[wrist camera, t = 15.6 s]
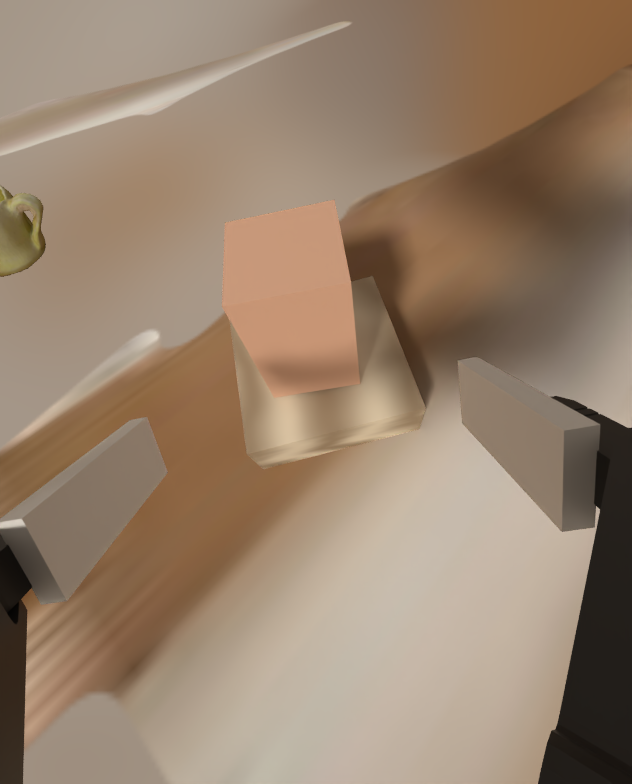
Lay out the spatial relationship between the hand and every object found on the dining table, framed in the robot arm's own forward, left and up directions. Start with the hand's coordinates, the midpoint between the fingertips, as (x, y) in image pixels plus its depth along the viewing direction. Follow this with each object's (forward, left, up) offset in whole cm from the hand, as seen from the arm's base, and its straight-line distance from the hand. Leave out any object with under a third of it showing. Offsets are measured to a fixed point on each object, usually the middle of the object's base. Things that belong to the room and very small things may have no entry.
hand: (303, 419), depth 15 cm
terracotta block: (-4, -10, -12) cm, 16 cm away
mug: (+22, -50, -17) cm, 57 cm away
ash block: (-4, -10, -17) cm, 20 cm away
